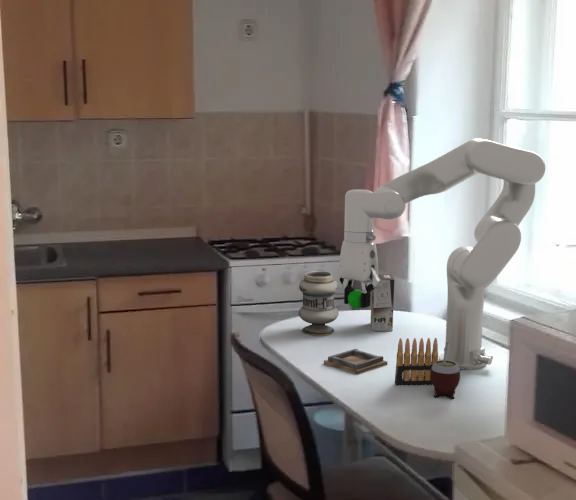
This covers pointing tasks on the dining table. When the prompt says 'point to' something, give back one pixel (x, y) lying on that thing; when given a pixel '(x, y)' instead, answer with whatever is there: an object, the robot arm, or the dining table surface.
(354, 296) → the polyhedron
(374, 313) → the coffee box
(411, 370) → the ammunition clip
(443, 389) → the mate gourd
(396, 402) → the dining table surface
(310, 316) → the apothecary jar
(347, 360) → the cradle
